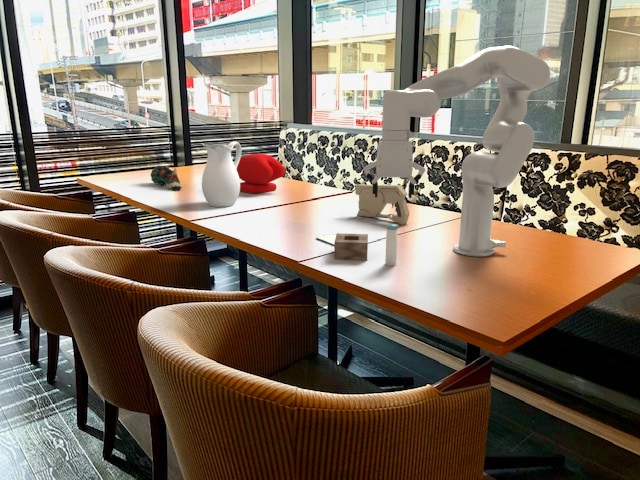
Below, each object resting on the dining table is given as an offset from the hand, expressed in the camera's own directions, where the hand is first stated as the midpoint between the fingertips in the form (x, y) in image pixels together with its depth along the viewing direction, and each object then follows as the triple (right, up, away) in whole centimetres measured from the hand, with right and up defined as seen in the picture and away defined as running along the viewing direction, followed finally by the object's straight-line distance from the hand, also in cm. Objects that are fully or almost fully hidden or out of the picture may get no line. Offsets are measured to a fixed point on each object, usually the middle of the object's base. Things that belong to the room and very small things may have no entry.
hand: (392, 197), depth 148 cm
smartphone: (-15, -14, +28) cm, 35 cm away
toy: (-53, +13, +120) cm, 131 cm away
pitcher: (-64, +4, +90) cm, 110 cm away
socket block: (-11, -17, +14) cm, 25 cm away
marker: (0, -20, +5) cm, 20 cm away
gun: (+4, -4, +60) cm, 60 cm away
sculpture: (-103, +16, +130) cm, 167 cm away
